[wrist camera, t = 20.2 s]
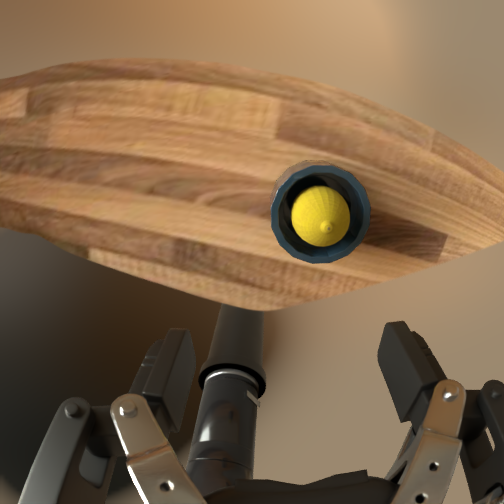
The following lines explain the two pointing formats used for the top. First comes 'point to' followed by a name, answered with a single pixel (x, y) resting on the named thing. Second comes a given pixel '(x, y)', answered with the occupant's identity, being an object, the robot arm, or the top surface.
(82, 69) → the top surface
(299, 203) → the lemon
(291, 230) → the bowl
